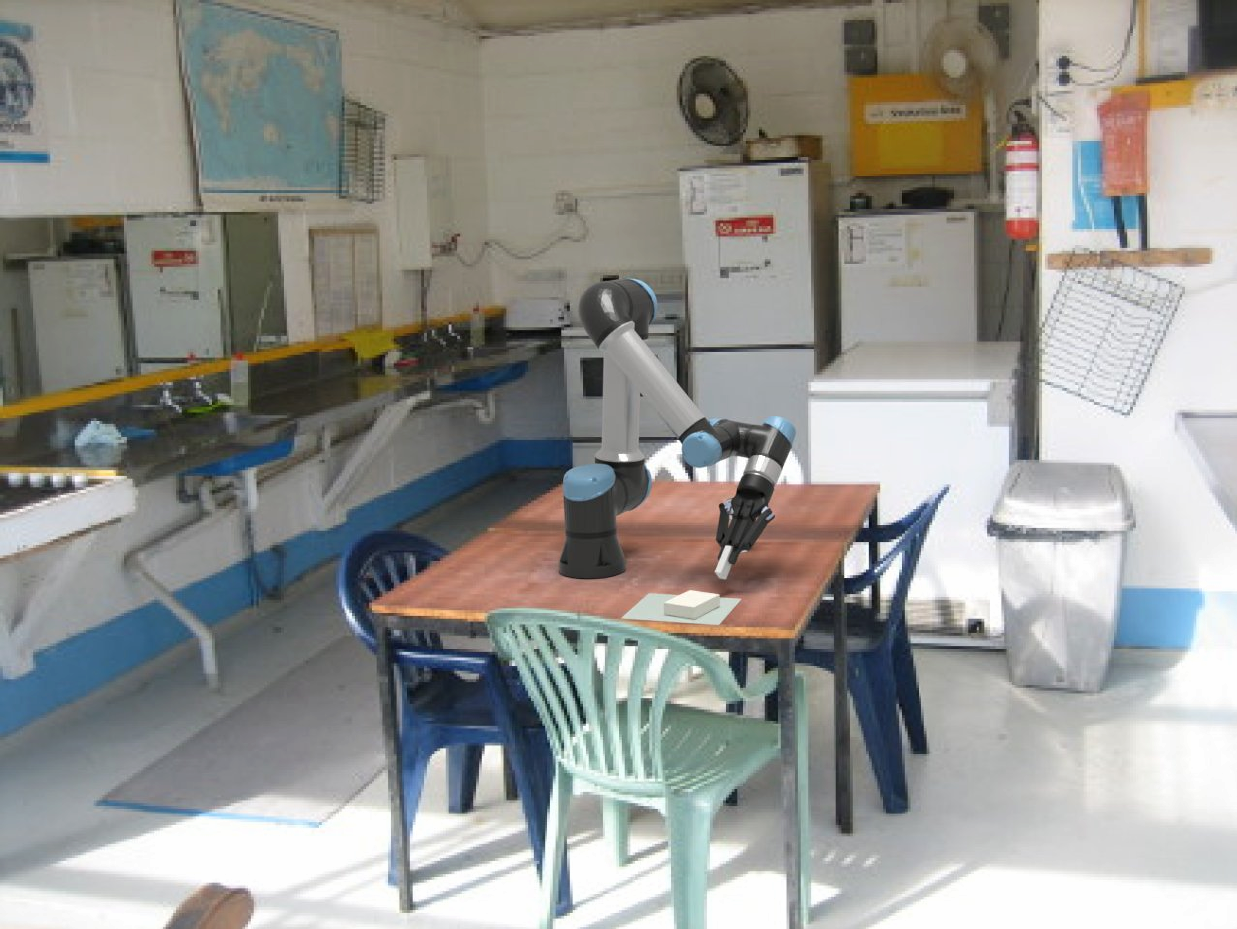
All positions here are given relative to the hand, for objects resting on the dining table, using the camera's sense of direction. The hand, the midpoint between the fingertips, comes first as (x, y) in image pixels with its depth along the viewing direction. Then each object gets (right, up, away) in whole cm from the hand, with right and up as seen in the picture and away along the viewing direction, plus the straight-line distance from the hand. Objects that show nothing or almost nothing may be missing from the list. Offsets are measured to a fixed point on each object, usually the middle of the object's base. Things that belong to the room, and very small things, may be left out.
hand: (720, 575), depth 274 cm
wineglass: (+7, +3, +40) cm, 41 cm away
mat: (-8, -7, -7) cm, 12 cm away
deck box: (-4, -4, -5) cm, 7 cm away
